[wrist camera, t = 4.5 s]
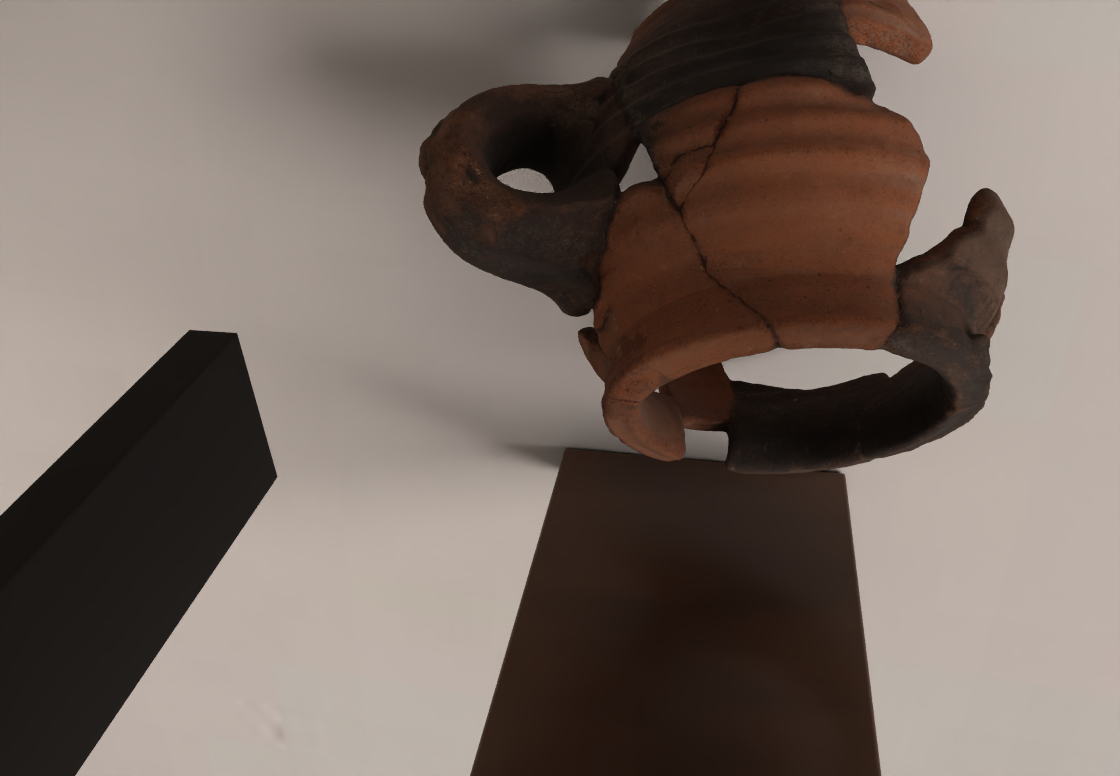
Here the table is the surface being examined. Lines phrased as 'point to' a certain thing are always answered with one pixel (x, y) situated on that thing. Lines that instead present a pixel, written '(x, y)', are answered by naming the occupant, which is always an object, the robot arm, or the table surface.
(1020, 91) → the table surface
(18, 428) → the table surface
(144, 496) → the robot arm
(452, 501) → the table surface
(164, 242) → the table surface
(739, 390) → the pottery mug
